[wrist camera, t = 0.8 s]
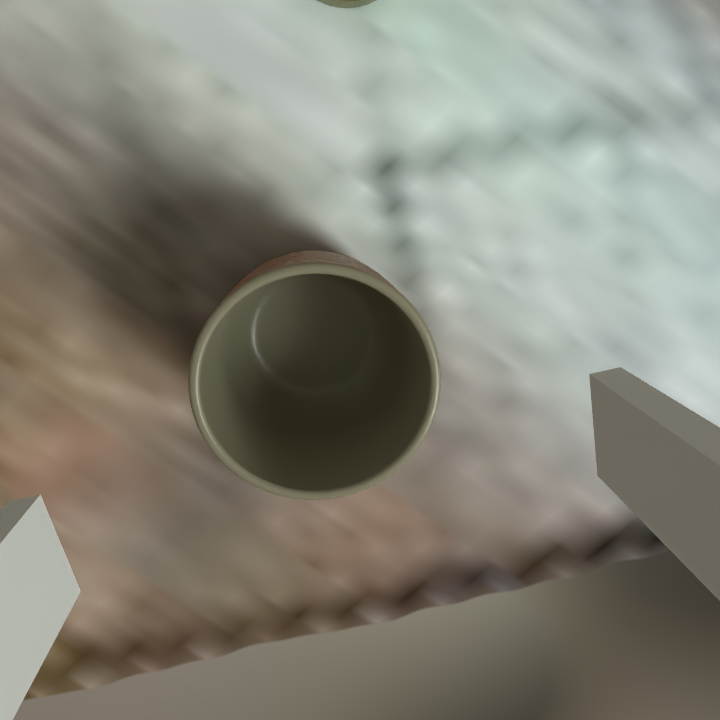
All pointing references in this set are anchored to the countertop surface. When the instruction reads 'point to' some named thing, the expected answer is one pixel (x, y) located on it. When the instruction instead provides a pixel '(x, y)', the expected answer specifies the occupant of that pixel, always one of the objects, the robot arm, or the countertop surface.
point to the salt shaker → (347, 3)
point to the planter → (314, 377)
